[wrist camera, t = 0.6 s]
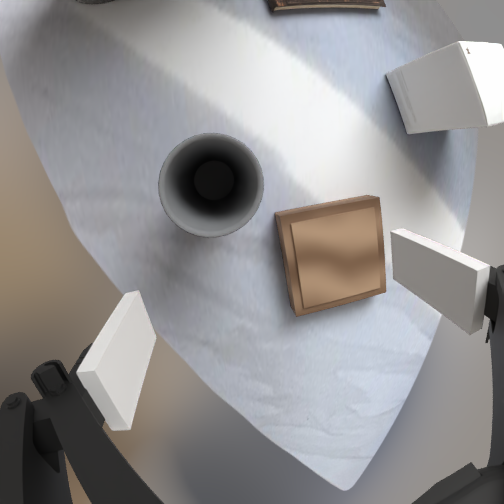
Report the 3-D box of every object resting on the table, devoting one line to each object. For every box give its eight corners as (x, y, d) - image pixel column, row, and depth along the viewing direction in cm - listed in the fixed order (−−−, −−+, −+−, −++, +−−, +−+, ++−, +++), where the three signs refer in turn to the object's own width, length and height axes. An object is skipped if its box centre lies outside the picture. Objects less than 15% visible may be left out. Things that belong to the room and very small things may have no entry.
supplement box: (406, 136, 35) (487, 128, 20) (383, 73, 32) (456, 38, 18) (450, 124, 35) (527, 118, 20) (430, 67, 32) (502, 42, 18)
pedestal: (274, 212, 35) (280, 216, 32) (367, 195, 36) (380, 197, 33) (290, 306, 39) (296, 317, 35) (375, 284, 39) (387, 292, 36)
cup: (255, 191, 35) (282, 205, 20) (202, 221, 35) (192, 256, 20) (226, 139, 33) (231, 114, 18) (172, 169, 33) (139, 167, 18)
